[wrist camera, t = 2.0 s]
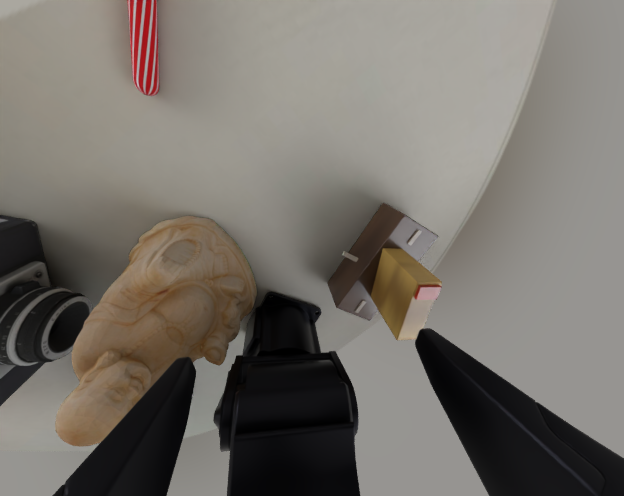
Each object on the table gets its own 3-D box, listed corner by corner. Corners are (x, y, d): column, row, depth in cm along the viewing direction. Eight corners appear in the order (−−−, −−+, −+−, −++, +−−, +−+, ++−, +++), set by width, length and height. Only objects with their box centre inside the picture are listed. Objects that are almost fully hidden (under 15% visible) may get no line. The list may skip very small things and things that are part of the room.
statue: (-144, 373, 9) (-17, 359, 7) (131, 227, 21) (217, 200, 18) (82, 477, 15) (202, 492, 12) (200, 315, 27) (274, 305, 24)
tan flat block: (388, 296, 21) (421, 342, 16) (370, 297, 20) (398, 343, 16) (402, 248, 19) (445, 284, 14) (382, 248, 18) (419, 284, 14)
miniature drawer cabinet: (373, 302, 26) (389, 329, 22) (306, 274, 23) (312, 299, 19) (430, 232, 23) (459, 249, 19) (361, 188, 20) (381, 199, 16)
